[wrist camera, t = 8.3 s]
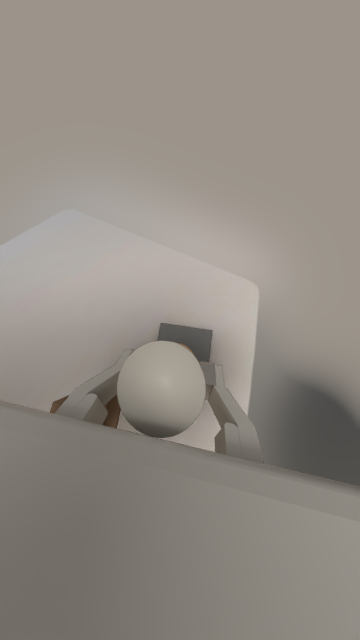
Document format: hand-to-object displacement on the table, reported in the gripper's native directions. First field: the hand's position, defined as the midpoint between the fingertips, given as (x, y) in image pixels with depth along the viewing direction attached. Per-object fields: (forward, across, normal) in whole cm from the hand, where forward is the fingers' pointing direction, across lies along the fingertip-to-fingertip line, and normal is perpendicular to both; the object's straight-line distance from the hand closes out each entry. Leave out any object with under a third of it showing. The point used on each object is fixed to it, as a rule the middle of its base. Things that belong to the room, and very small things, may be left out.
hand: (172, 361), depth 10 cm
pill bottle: (+3, 0, +4) cm, 4 cm away
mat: (+12, 0, +13) cm, 17 cm away
